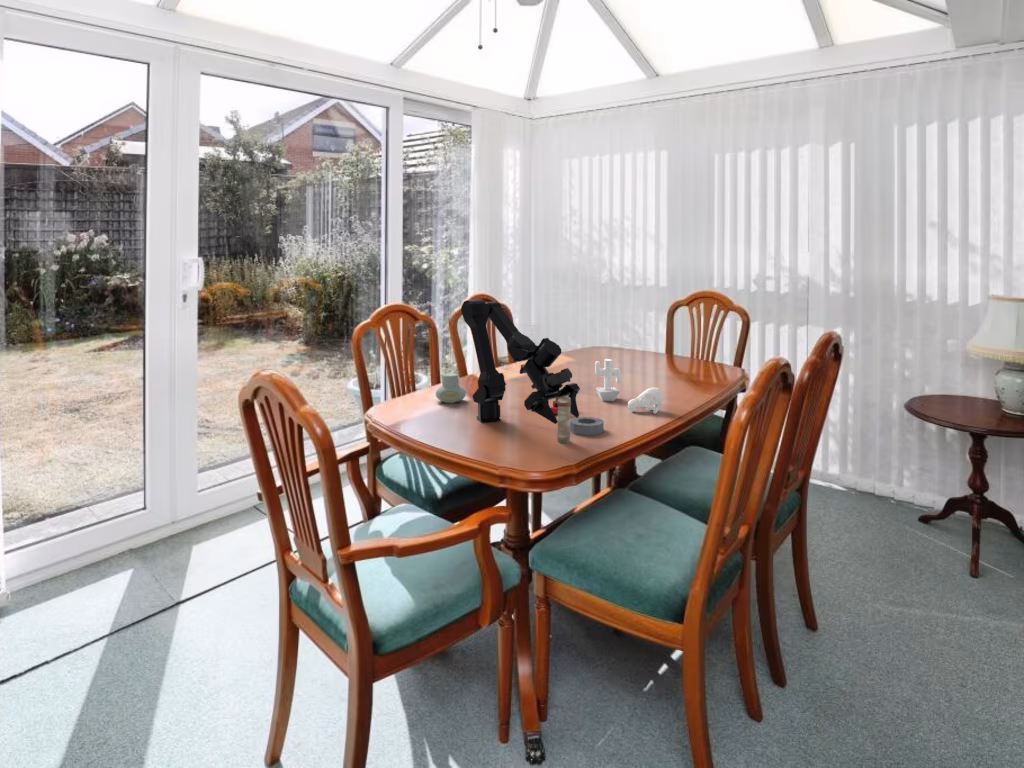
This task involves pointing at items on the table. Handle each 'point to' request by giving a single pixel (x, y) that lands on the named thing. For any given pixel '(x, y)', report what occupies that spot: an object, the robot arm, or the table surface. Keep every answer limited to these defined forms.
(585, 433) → the grey ring
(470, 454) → the table surface
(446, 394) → the air freshener
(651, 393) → the white animal statue
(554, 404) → the toy fire truck
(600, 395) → the figurine
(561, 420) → the birch peg
